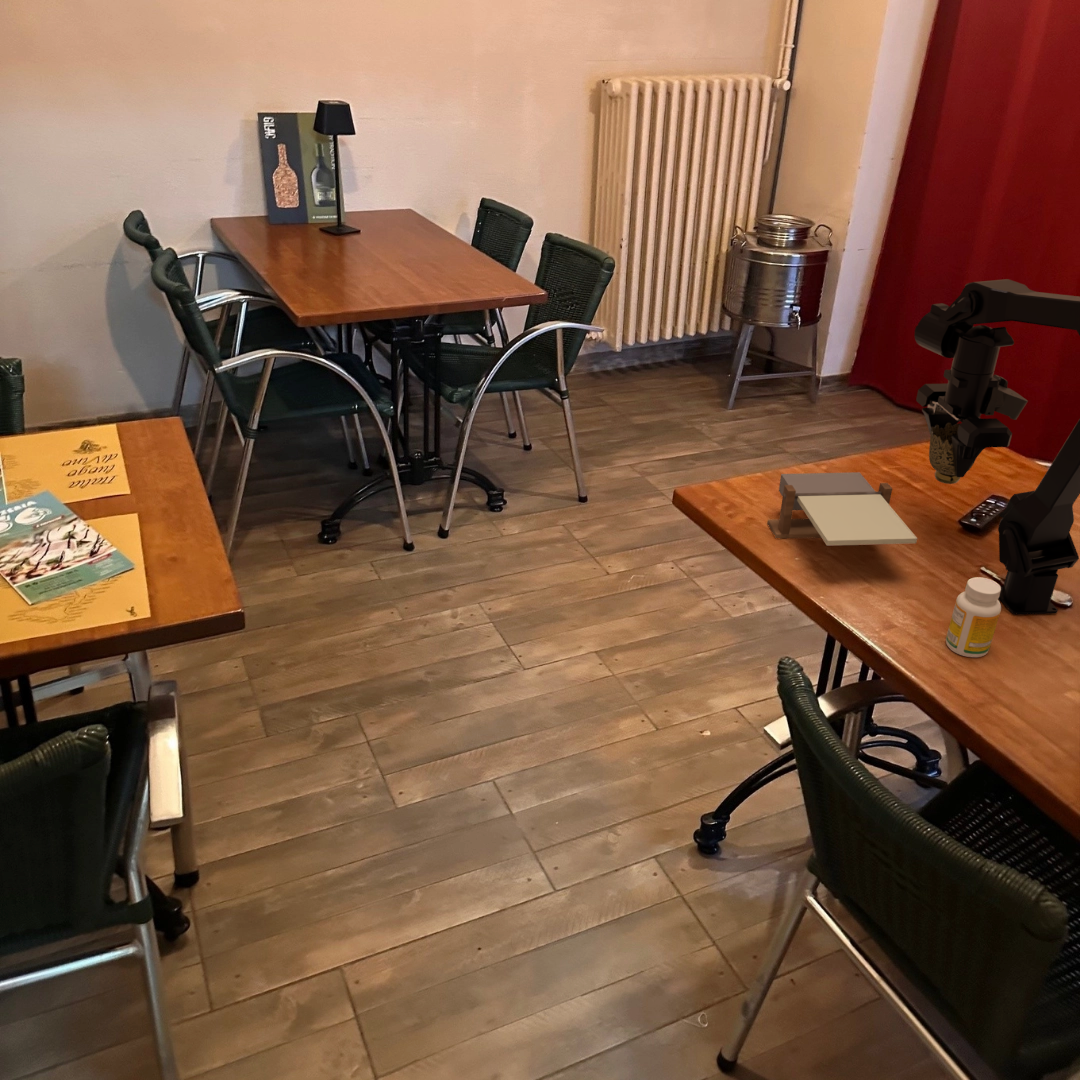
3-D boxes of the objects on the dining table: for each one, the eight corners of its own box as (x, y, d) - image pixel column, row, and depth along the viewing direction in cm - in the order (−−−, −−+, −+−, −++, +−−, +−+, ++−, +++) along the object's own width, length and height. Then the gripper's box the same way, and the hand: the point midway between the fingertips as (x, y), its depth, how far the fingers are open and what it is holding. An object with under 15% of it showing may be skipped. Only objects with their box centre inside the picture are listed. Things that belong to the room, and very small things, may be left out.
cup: (939, 493, 146) (951, 444, 142) (910, 473, 152) (921, 424, 148) (982, 488, 148) (995, 439, 144) (952, 468, 154) (963, 420, 150)
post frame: (887, 536, 155) (897, 488, 151) (775, 538, 154) (783, 490, 150) (875, 521, 160) (885, 474, 156) (767, 523, 158) (773, 476, 154)
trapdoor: (912, 559, 141) (917, 538, 139) (824, 561, 140) (827, 540, 139) (856, 488, 161) (860, 470, 159) (778, 490, 160) (781, 471, 158)
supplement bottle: (938, 647, 129) (954, 585, 124) (955, 630, 132) (971, 569, 128) (979, 664, 126) (997, 601, 121) (995, 646, 129) (1013, 584, 125)
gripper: (1061, 390, 134) (1031, 493, 141) (995, 347, 150) (972, 441, 158) (982, 391, 133) (957, 495, 141) (925, 348, 149) (905, 442, 157)
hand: (949, 467), depth 149 cm, fingers closed on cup, 6 cm apart
